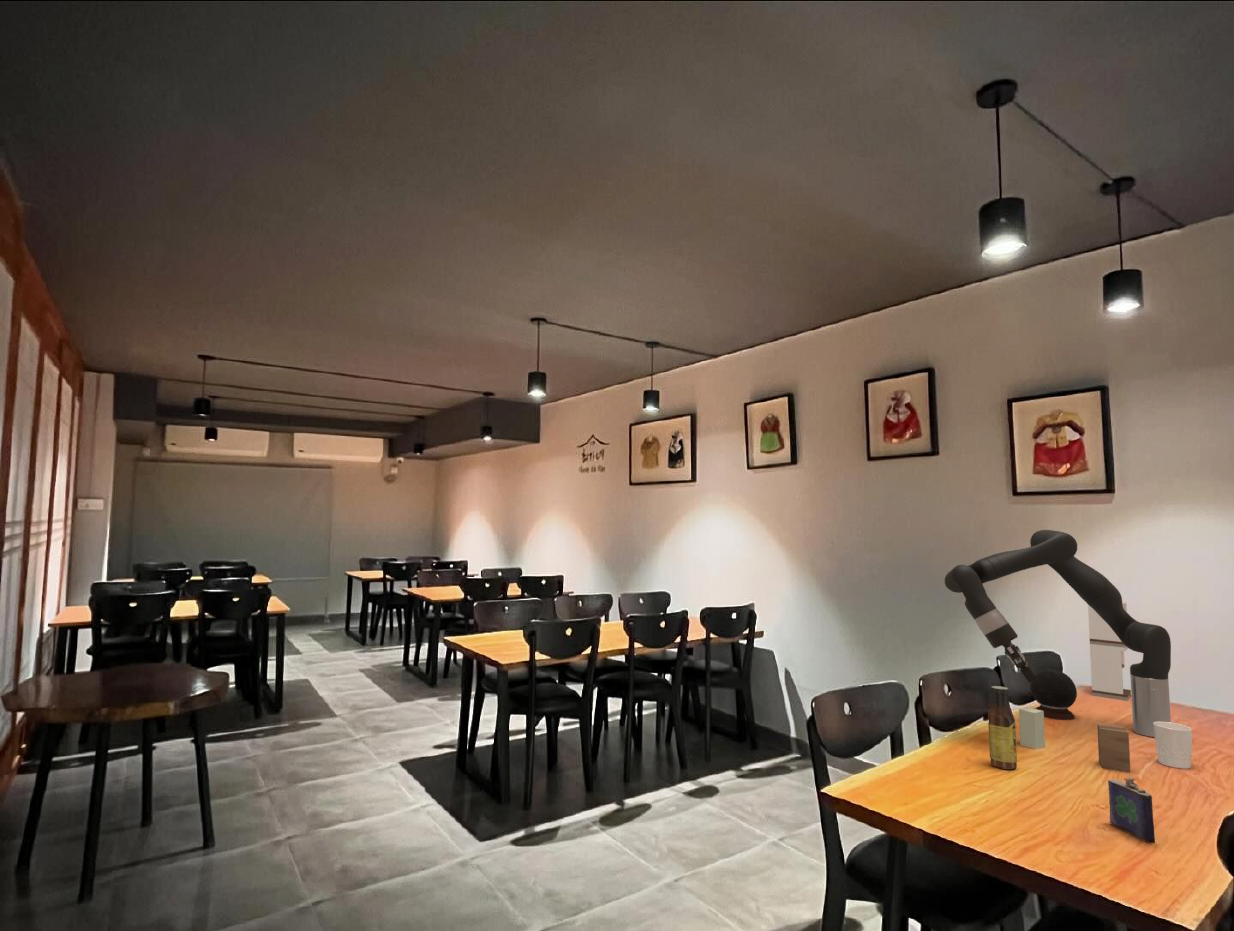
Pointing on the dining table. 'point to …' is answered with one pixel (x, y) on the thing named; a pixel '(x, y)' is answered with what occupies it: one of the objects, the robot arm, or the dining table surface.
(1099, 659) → the mini white fridge
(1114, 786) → the flask
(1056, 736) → the dining table surface
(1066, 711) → the black oval
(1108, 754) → the tower lower
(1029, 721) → the sage block
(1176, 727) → the white cup
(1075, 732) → the dining table surface
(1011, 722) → the sauce bottle
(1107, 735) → the tower upper
